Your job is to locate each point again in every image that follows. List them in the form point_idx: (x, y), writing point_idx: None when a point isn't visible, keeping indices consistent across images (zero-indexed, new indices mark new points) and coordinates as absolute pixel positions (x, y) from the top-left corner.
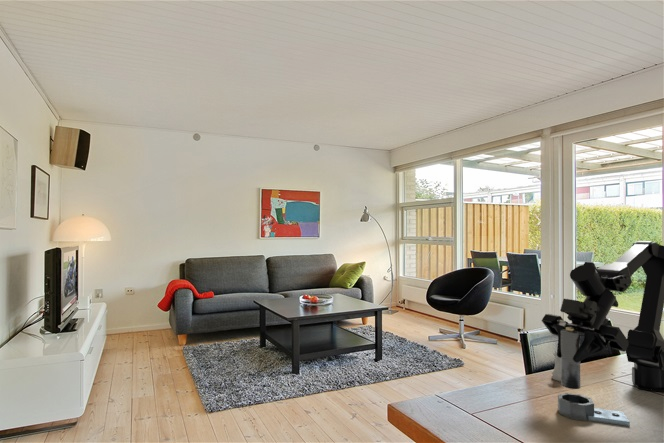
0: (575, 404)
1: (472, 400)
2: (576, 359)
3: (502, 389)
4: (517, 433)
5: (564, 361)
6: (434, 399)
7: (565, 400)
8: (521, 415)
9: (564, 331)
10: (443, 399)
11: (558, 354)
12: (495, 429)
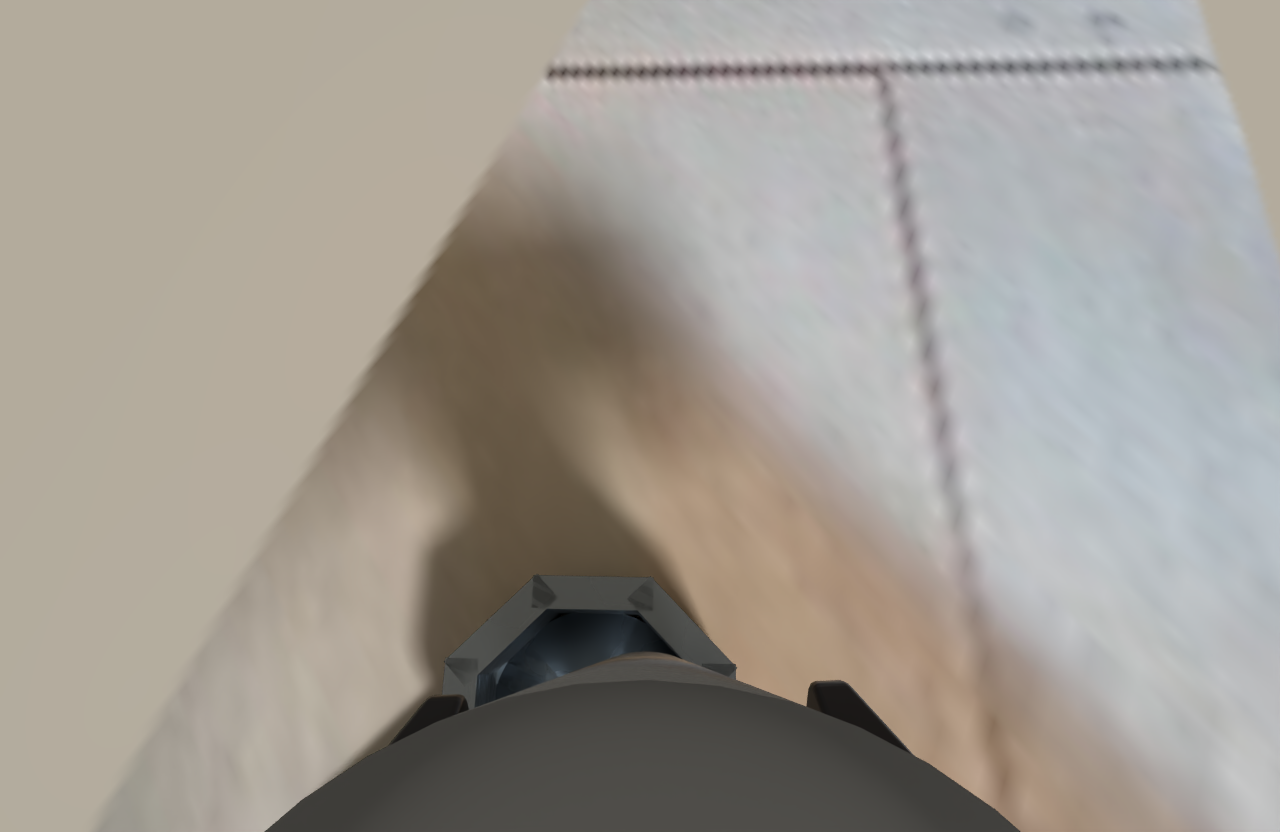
0: (508, 604)
1: (1067, 206)
2: (416, 715)
3: (1229, 580)
4: (568, 119)
5: (649, 655)
6: (1145, 15)
7: (603, 597)
8: (744, 317)
9: (733, 829)
10: (1131, 60)
11: (816, 693)
12: (657, 55)
